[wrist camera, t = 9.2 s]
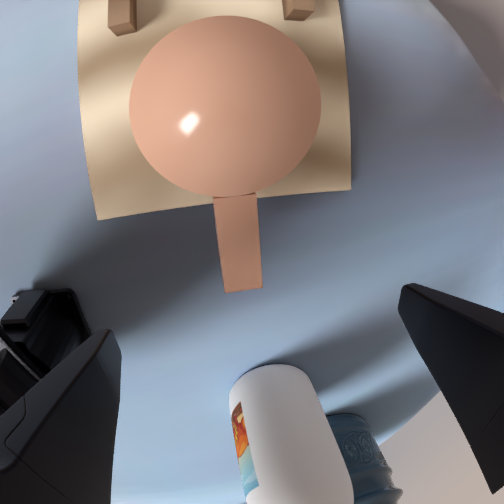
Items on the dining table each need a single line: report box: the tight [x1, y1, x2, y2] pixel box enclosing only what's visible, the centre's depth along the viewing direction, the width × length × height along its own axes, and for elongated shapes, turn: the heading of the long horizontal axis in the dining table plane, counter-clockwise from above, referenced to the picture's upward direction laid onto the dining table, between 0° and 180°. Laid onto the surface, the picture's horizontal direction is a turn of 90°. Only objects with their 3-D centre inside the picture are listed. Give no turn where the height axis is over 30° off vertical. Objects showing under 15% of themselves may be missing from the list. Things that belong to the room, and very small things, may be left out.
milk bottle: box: [229, 364, 354, 504], centre depth 17 cm, size 8×8×20 cm
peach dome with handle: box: [129, 16, 321, 293], centre depth 14 cm, size 11×7×6 cm, turn 4°
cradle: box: [78, 0, 351, 221], centre depth 14 cm, size 18×16×3 cm
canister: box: [326, 414, 403, 504], centre depth 24 cm, size 13×13×18 cm
